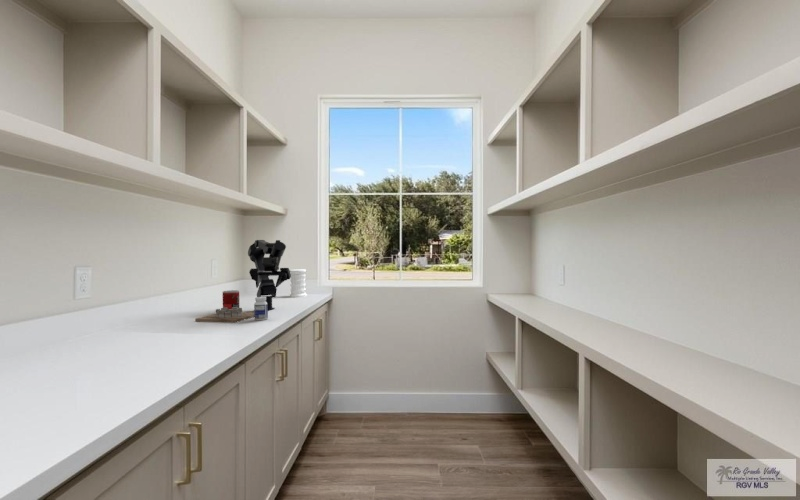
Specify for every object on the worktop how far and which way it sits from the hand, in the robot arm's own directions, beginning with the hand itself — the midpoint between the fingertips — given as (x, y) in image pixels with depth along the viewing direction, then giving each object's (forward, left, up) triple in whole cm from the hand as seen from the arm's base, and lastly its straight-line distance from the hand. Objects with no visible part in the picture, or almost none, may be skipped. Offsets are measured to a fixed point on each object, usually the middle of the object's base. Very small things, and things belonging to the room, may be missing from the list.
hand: (266, 286), depth 197 cm
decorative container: (-85, -26, -14) cm, 90 cm away
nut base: (+7, -15, -14) cm, 22 cm away
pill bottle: (+8, +2, -14) cm, 16 cm away
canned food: (-9, -25, -14) cm, 30 cm away
